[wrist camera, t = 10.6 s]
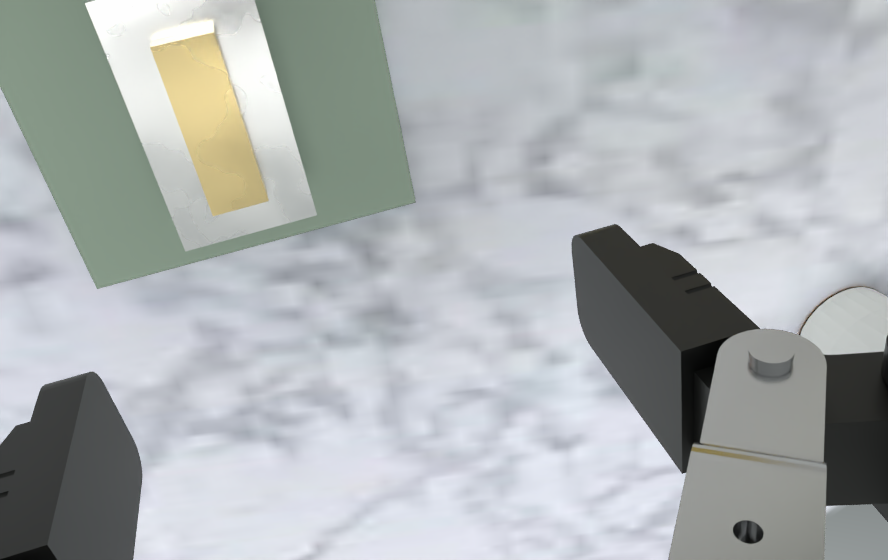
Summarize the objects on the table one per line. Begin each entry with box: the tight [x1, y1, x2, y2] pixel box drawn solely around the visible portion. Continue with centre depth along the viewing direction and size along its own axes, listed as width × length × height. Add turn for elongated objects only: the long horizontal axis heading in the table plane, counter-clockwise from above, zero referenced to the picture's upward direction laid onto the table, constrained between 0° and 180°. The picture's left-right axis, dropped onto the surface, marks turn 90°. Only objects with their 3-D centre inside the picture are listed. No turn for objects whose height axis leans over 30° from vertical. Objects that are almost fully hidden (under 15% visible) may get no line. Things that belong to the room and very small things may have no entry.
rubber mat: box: [0, 0, 416, 289], centre depth 30 cm, size 14×14×1 cm
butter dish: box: [85, 0, 317, 252], centre depth 28 cm, size 5×9×5 cm, turn 10°
